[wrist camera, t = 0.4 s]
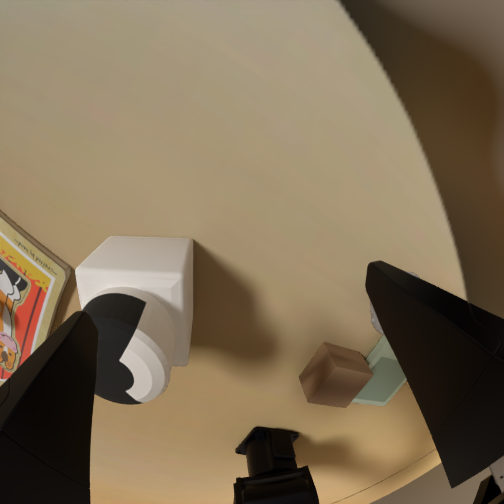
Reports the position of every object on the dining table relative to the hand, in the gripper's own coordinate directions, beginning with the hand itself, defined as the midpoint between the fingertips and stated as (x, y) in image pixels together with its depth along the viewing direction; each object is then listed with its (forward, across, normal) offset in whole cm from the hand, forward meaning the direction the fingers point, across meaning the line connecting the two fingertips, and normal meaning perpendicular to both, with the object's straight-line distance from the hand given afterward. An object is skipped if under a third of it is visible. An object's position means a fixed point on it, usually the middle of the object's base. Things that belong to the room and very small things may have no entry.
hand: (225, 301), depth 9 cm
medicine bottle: (+14, +7, +8) cm, 17 cm away
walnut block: (+11, -8, +21) cm, 25 cm away
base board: (+10, -16, +24) cm, 30 cm away
